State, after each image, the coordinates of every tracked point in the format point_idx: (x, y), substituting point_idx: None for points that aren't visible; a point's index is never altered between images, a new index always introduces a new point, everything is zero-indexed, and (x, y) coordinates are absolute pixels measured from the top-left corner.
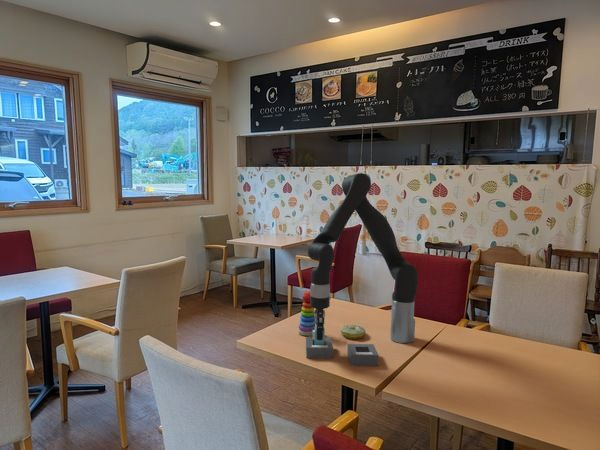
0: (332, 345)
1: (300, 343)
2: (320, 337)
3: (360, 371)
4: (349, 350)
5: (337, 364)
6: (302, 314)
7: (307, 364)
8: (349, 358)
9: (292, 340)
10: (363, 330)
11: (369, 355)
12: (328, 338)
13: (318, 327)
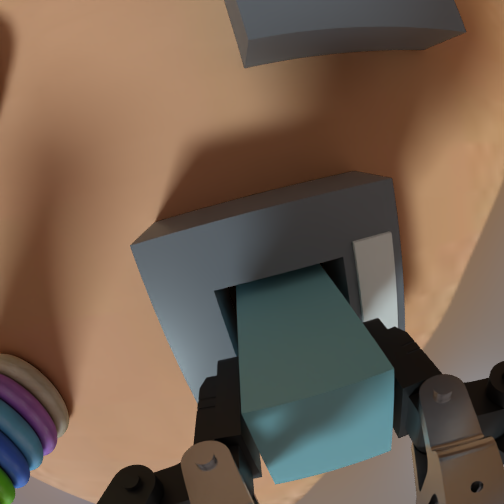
0: (334, 191)
1: (171, 413)
2: (405, 346)
3: (460, 13)
4: (386, 28)
5: (431, 133)
6: (13, 499)
7: (446, 309)
8: (371, 46)
9: (152, 446)
10: None
11: None
12: (157, 265)
13: (295, 454)
